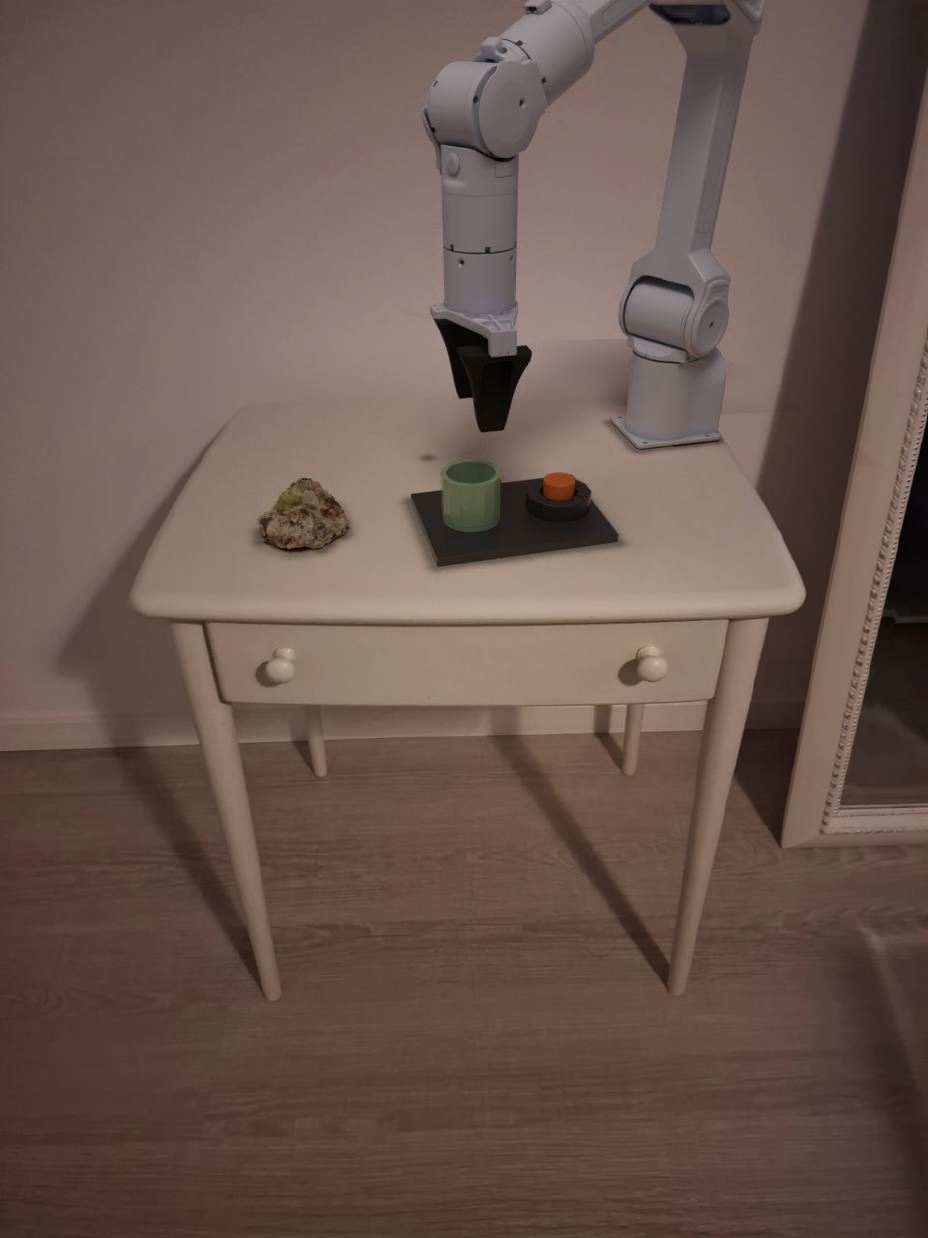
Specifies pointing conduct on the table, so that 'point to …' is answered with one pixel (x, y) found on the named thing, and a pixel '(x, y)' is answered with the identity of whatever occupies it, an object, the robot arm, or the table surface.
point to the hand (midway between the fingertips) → (480, 412)
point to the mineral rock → (303, 517)
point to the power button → (558, 486)
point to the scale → (516, 525)
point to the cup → (471, 495)
